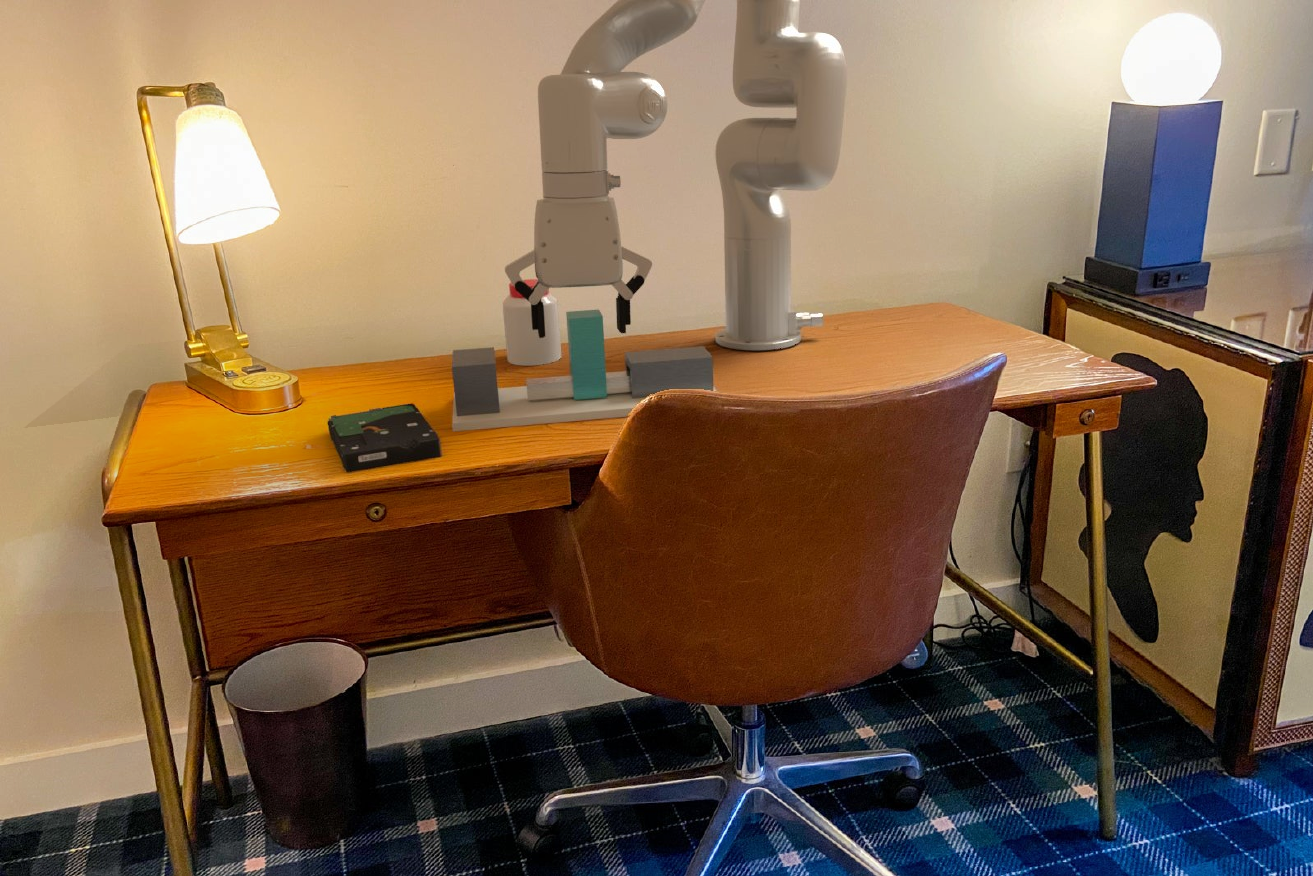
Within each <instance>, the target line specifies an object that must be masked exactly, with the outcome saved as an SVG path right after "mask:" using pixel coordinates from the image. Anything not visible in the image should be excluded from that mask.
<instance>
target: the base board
mask: <svg viewBox="0 0 1313 876" xmlns="http://www.w3.org/2000/svg"><path fill="white" fill-rule="evenodd" d="M713 391H717V392H718V390H717V389H716V387H715V386H714V385H713ZM498 396H499V408H500V413H491V414H479V415H467V416H457V412H456V403H455V393H454V392H453V402H452V403H453V405H452V420H451V422H452V423H451V425H452V432H462V431H474V430H483V429H484V430H485V429H497V428H508V427H520V426H533V425H543V424H554V423H567V422H577V421H578V422H579V421H589V420H603V419H604V420H605V419H612V418H613V419H614V418H627V417H629V416H628V414H629V413H630V412H631V411H632V409H633V408H634V407H635V406H636V404H637V403H639V402H640V401H641V400H642V399H645V398H635V399H633V398H632V394H631V392H623V393H611V394H607V397H605V398H593V399H580V400H574V397H562V398H550V399H538V400H528V396H527V385H525V386H509V387H500V388H499V387H498Z"/></svg>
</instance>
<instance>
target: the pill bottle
mask: <svg viewBox="0 0 1313 876" xmlns="http://www.w3.org/2000/svg"><path fill="white" fill-rule="evenodd" d="M522 280H523V281H524V282H525V283H526V284H527V285H528V286H529V287H530V288H531V289H532V288H533V286H534V285H535V284H536V282H537V281H538V278H532V279H531V278H530V279H522ZM508 288H509V295H508V296H507V297H506V298H505V299H504V300H503V301H502V310H503V311H502V313H503V322H504V323H503V324H504V337H505V347H506V358H507V359H506V360H507V363H509V364H512V365H515V366H523V367H524V366H525V367H526V366H527V367H532V366H534V367H535V366H542V365H543V364H544V365H549V364H552V363H551V362H553V363H556V362H558V361H559V359H560V358H561V359H562V347H561V346H562V345H561V331H560V316H559V304H558V302H559V300H558V298H557V297H556V296H555V295H553V293H551V292H549V291H550V290H549V289H550V288H549V289H548V290H547V292H546V293H545V294H544V296H543V297H542V298H541V302H543V305H544V321H545V337H544V338H539V335H538V330H533V329H532V316H531V304H530V302H529V301H528V300H527V299H525V298H524V297H523V296H522V295H521V294H520V293H519V292H517V291H516V289H515V287H514V286H513V284H512V283H511V282H509V284H508ZM561 359H560V360H561Z"/></svg>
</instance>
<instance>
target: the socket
mask: <svg viewBox="0 0 1313 876" xmlns="http://www.w3.org/2000/svg"><path fill="white" fill-rule="evenodd" d="M496 363H497V362H496V351H495V347H494V346H493V347H481V348H480V347H479V348H467V349H466V348H465V349H453V350H452V359H451V371H452V381H453V383H452V384H453V391H454V392H453V394H454V393H455V403H456V412H457V416H467V415H479V414H491V413H500V408H499V396H498V388H499V386H498V385H499V384H498V375H497V365H496Z"/></svg>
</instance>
